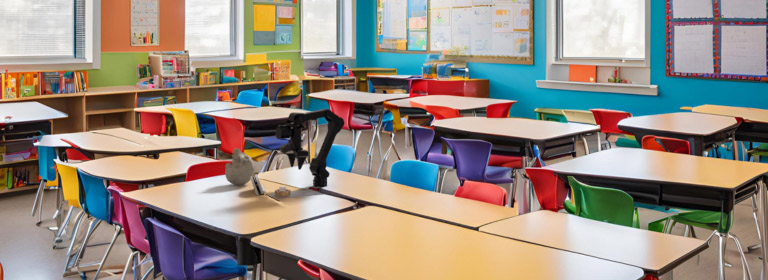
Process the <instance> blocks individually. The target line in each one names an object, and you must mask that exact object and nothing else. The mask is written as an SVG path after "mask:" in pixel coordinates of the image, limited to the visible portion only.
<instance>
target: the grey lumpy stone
mask: <svg viewBox="0 0 768 280" xmlns="http://www.w3.org/2000/svg"><path fill="white" fill-rule="evenodd" d="M231 160H232V161H231V162H228V163H226V164H225V170H224V171H225V172H224V173H225V178H226V180H227V181H228V182H229V184H232V185H234V186H244V185H246V184H248V183H249V182H250V181H251V178H250V177H251V176H254V175H255V171H256V165H255V162H254V160H253V159H252V157H251V156H250V155H248V154H246V152H242V151H241V150H240V148H239V147H238V148H236V147H234V149H233V150H232V154H231Z"/></svg>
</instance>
